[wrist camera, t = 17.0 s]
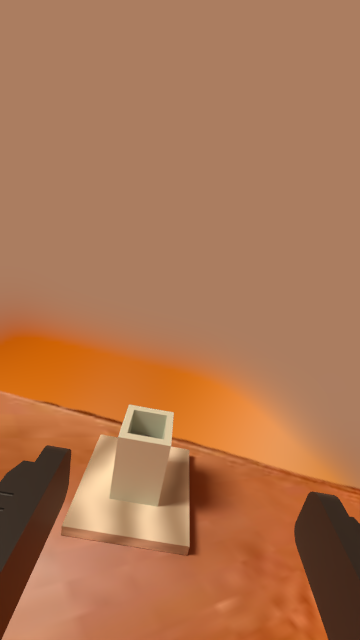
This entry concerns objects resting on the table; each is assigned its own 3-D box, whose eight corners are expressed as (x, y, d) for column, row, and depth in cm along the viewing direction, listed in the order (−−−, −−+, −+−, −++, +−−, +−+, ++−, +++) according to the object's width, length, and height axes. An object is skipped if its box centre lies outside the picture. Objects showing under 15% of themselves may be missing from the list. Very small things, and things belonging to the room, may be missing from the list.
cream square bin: (161, 466, 42) (173, 412, 39) (157, 506, 36) (171, 446, 33) (120, 459, 42) (129, 404, 39) (109, 498, 36) (118, 436, 33)
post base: (187, 456, 47) (197, 415, 44) (187, 555, 33) (202, 503, 30) (99, 441, 47) (105, 399, 44) (61, 535, 32) (65, 480, 30)
